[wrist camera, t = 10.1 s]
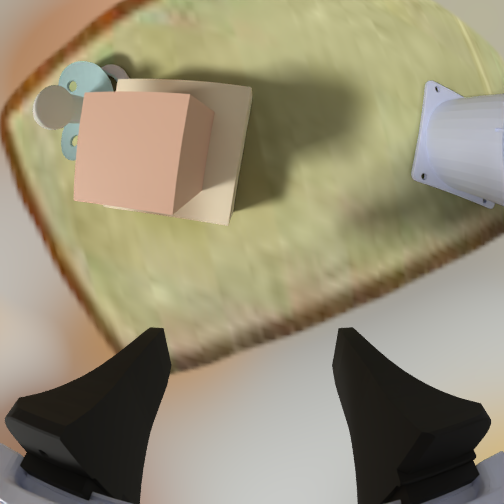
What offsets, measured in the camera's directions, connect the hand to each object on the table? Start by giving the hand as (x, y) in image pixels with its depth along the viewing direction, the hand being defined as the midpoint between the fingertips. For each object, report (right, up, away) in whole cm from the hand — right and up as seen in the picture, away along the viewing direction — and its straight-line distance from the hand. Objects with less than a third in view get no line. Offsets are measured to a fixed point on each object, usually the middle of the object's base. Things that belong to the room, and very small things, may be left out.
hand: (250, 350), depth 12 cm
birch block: (-5, +11, +7) cm, 14 cm away
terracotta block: (-5, +10, +4) cm, 12 cm away
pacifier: (-11, +15, +6) cm, 19 cm away
